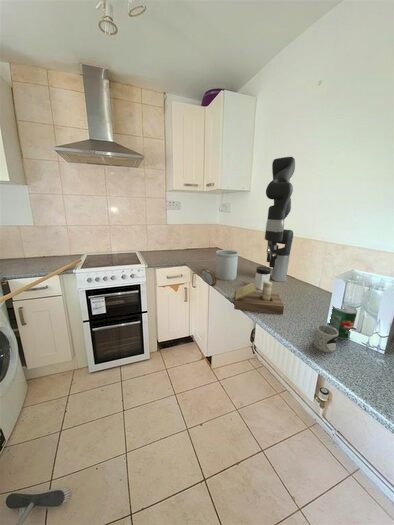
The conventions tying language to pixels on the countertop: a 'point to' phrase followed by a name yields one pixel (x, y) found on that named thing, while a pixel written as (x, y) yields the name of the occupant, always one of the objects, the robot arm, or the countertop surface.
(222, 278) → the utensil holder
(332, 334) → the mug
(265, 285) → the peg
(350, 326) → the canned tomato
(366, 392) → the countertop surface
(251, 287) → the latch flap
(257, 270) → the jar
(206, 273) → the brown oval frame
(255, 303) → the block
